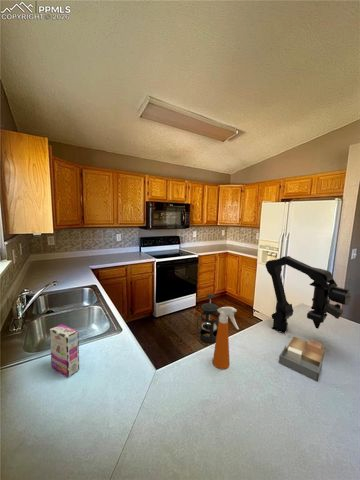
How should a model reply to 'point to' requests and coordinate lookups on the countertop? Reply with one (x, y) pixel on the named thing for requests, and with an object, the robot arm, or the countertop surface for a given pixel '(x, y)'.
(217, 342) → the spray bottle
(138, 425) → the countertop surface
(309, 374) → the tray
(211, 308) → the french press
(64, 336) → the candy bar box
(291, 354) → the cream rectangular block
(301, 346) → the oak board
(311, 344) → the tan cardboard box
